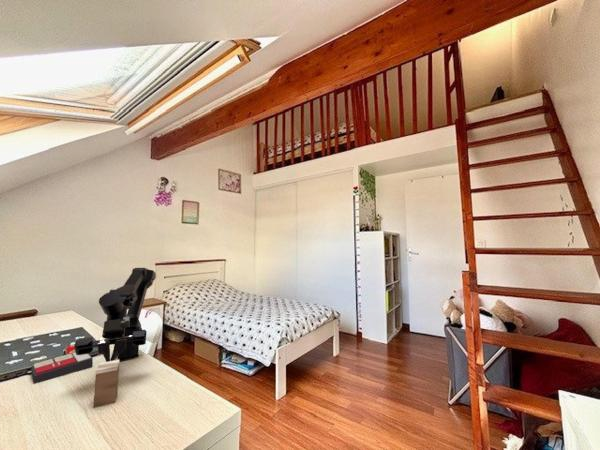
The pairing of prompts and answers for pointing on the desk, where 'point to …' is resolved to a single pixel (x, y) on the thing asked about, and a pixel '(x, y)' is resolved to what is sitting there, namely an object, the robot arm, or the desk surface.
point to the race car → (69, 349)
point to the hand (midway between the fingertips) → (109, 368)
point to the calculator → (60, 366)
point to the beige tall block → (106, 383)
